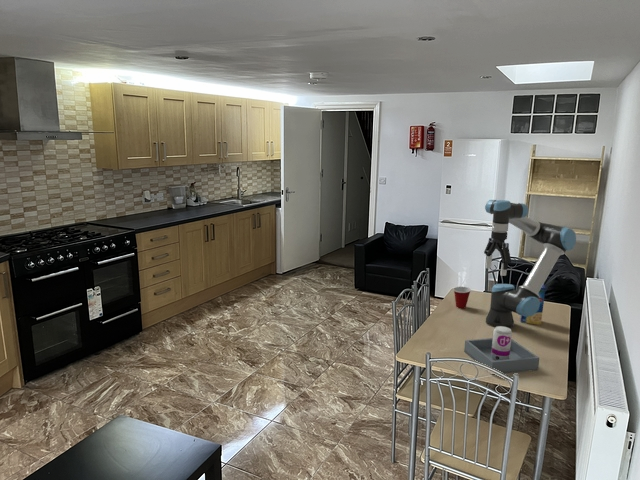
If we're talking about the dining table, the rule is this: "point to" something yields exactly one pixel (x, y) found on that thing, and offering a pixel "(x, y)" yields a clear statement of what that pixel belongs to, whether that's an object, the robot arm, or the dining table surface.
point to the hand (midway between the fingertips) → (495, 271)
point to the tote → (516, 362)
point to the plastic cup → (461, 296)
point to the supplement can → (501, 343)
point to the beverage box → (538, 315)
